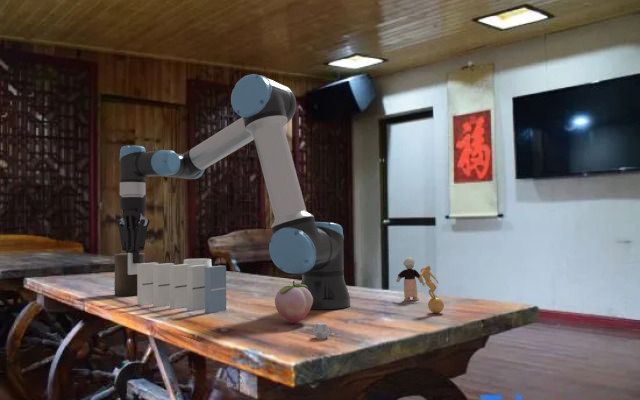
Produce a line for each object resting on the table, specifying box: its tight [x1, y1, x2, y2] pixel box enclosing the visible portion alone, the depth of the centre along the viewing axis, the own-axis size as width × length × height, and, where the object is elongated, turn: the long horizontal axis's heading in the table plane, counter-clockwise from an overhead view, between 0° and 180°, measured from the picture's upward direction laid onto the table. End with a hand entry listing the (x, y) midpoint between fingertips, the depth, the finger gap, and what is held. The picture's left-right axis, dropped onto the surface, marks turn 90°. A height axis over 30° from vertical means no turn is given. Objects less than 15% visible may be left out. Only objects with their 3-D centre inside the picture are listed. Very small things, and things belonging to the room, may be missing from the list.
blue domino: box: [204, 265, 227, 314], centre depth 154 cm, size 2×6×12 cm, turn 146°
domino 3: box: [169, 263, 191, 310], centre depth 162 cm, size 2×6×12 cm, turn 146°
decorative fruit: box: [274, 280, 313, 324], centre depth 134 cm, size 9×8×10 cm
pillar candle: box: [113, 252, 146, 297], centre depth 192 cm, size 10×10×15 cm
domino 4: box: [186, 265, 208, 312], centre depth 158 cm, size 2×6×12 cm, turn 146°
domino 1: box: [136, 261, 159, 306], centre depth 170 cm, size 2×6×12 cm, turn 146°
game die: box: [311, 322, 331, 340], centre depth 117 cm, size 4×4×3 cm
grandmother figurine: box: [396, 256, 422, 302], centre depth 170 cm, size 8×4×13 cm, turn 92°
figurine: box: [419, 265, 445, 314], centre depth 147 cm, size 8×6×12 cm
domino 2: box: [152, 262, 175, 308], centre depth 166 cm, size 2×6×12 cm, turn 146°
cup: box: [183, 257, 213, 267], centre depth 184 cm, size 9×9×12 cm
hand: (133, 274), depth 174 cm, fingers closed
